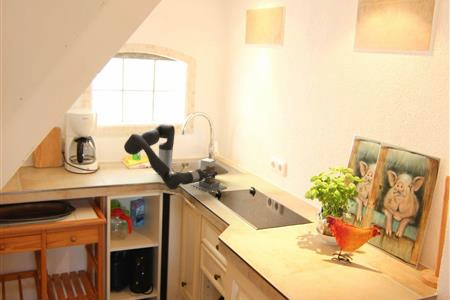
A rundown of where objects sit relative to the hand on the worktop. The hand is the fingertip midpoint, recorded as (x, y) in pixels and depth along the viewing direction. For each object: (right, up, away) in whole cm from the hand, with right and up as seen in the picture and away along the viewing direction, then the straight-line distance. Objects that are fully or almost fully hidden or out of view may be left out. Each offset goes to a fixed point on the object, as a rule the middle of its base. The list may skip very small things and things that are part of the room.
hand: (212, 172), depth 293 cm
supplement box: (-4, -5, +20) cm, 21 cm away
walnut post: (-2, -9, 0) cm, 9 cm away
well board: (-2, -9, 0) cm, 10 cm away
